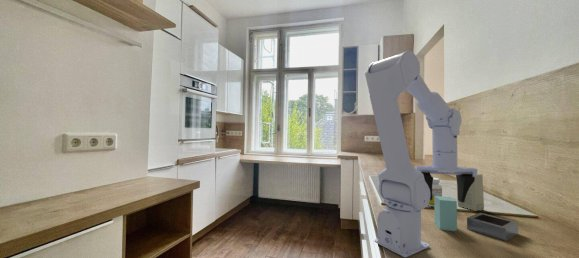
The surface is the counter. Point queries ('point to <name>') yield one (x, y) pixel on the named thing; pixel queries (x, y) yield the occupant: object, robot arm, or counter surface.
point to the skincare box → (474, 195)
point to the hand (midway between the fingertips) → (445, 200)
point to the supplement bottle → (435, 190)
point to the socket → (492, 226)
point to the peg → (445, 213)
